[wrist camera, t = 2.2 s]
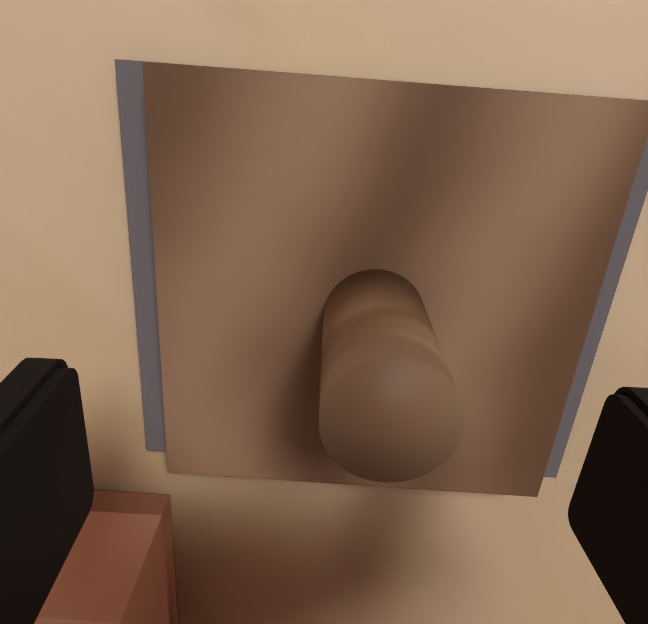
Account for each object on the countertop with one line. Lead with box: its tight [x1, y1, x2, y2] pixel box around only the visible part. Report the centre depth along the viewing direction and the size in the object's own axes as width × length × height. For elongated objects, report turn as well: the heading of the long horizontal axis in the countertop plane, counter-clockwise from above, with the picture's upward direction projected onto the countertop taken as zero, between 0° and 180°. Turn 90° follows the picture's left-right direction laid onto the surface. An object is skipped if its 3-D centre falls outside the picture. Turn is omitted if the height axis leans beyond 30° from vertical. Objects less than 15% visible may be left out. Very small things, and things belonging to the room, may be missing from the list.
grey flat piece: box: [115, 59, 648, 478], centre depth 16 cm, size 14×12×1 cm
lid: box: [142, 62, 648, 497], centre depth 13 cm, size 12×12×6 cm
